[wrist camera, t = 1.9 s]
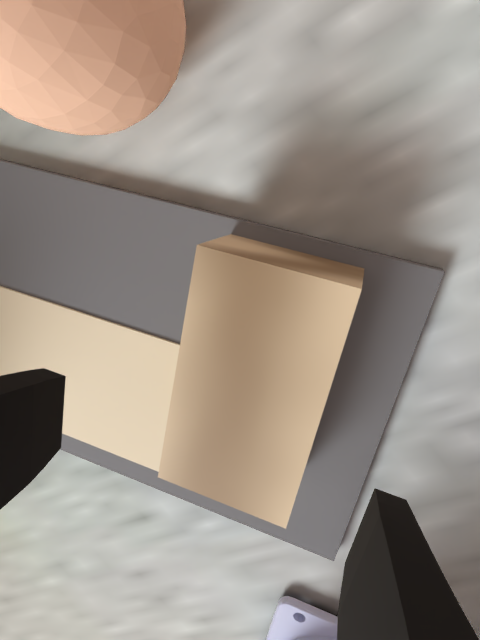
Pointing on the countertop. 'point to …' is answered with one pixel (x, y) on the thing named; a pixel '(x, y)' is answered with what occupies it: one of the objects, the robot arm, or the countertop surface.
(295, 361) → the card box
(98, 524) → the countertop surface
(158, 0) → the egg
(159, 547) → the countertop surface
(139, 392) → the mat
